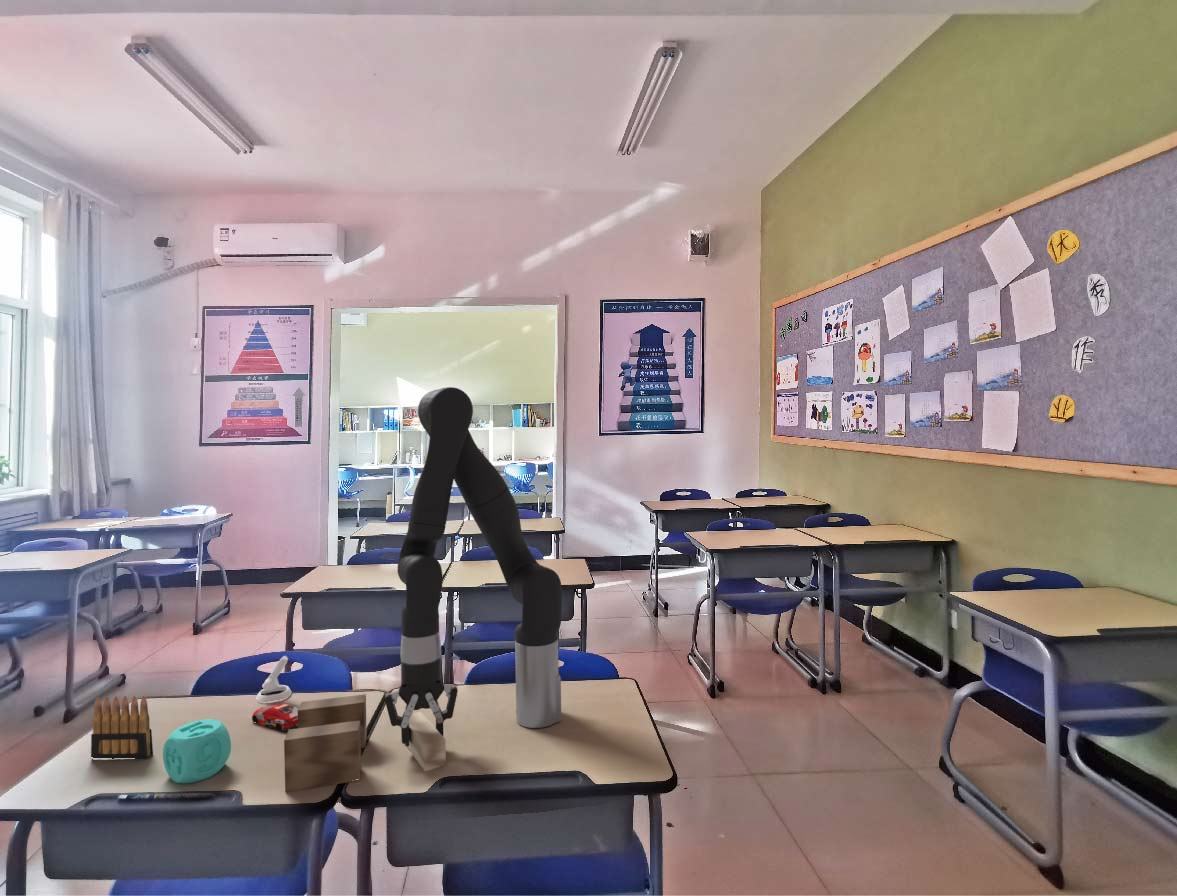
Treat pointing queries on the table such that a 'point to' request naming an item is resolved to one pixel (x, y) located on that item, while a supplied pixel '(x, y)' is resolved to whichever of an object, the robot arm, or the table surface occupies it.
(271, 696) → the hook
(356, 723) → the slotted shelf
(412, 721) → the maple beam
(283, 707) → the race car
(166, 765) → the decorative dice
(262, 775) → the table surface
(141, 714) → the ammunition clip
